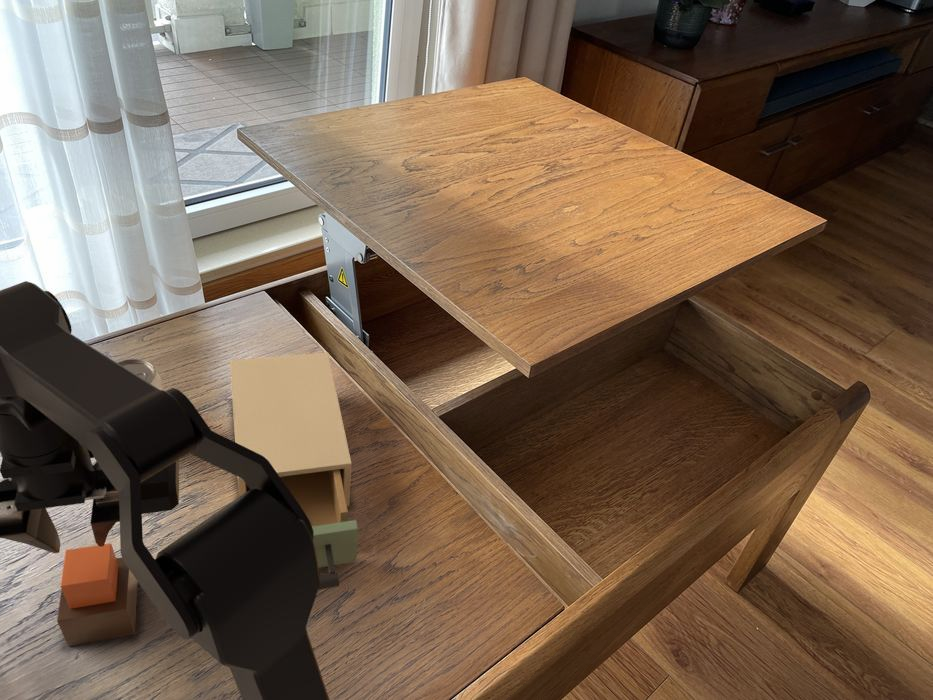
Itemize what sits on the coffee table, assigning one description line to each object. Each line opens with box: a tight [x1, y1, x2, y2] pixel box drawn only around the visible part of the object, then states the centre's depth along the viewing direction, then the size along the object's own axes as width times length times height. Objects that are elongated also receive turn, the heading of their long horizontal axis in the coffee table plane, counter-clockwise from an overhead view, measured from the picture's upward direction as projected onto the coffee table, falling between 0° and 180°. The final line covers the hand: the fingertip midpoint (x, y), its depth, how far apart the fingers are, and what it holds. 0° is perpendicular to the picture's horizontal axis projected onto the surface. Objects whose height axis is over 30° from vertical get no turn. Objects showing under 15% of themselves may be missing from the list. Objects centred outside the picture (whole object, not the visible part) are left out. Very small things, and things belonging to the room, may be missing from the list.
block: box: [60, 543, 118, 609], centre depth 69 cm, size 4×4×4 cm
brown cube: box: [56, 556, 139, 647], centre depth 72 cm, size 6×6×5 cm
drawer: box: [280, 469, 359, 591], centre depth 82 cm, size 23×11×6 cm, turn 16°
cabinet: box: [229, 352, 352, 507], centre depth 90 cm, size 20×13×8 cm, turn 16°
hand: (80, 545), depth 66 cm, fingers open, 3 cm apart
